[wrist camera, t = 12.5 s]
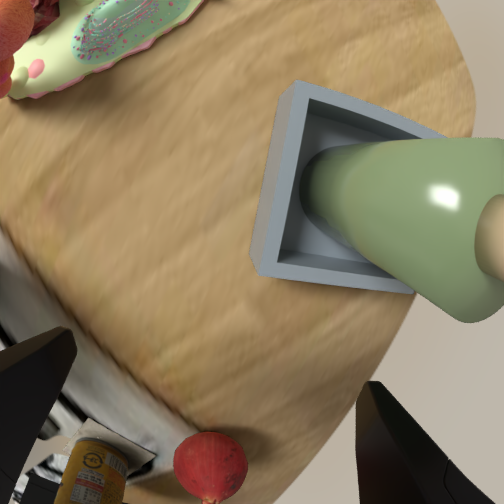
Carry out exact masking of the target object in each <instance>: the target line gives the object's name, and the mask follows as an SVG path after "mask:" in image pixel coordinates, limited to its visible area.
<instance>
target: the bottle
mask: <svg viewBox="0 0 504 504" xmlns="http://www.w3.org/2000/svg"><path fill="white" fill-rule="evenodd" d="M299 197H300V202H301V206H302V209H303V211H304V213H305V215H306V217H307V218H308V219H309V221H310V222H311V223H312V224H313V225H314V226H315V227H317V228H318V229H319V230H321V231H323V232H324V233H326V234H328V235H329V236H331V237H333V238H334V239H336V240H337V241H339V242H341V243H342V244H344V245H345V246H347V247H349V248H350V249H352V250H353V251H355V252H356V253H358V254H360V255H361V256H363V257H364V258H366V259H367V260H369V261H371V262H372V263H374V264H375V265H377V266H378V267H380V268H381V269H383V270H384V271H386V272H387V273H389V274H390V275H392V276H393V277H395V278H396V279H398V280H399V281H401V282H402V283H404V284H405V285H407V286H408V287H410V288H411V289H413V290H414V291H416V292H417V293H419V294H420V295H422V296H423V297H425V298H426V299H428V300H429V301H430V302H432V303H433V304H435V305H436V306H438V307H439V308H440V309H442V310H443V311H445V312H446V313H448V314H449V315H450V316H452V317H453V318H455V319H457V320H458V321H461V322H464V323H474V322H479V321H482V320H484V319H486V318H488V317H490V316H491V315H493V314H494V313H496V312H497V311H498V310H499V309H500V308H501V307H502V306H503V305H504V140H503V139H500V138H431V139H411V140H395V141H382V142H370V143H359V144H350V145H341V146H333V147H329V148H326V149H324V150H322V151H320V152H318V153H317V154H316V155H315V156H313V157H312V159H311V160H310V161H309V162H308V164H307V165H306V167H305V169H304V170H303V173H302V176H301V179H300V185H299Z"/></svg>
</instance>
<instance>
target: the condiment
mask: <svg viewBox="0 0 504 504" xmlns="http://www.w3.org/2000/svg"><path fill="white" fill-rule="evenodd" d="M97 437H98V438H97ZM100 437H102V438H100ZM63 451H64V452H66V453H68V454H69V455H70V457H69V461H68V463H67V466H66V468H65V471H64V474H63V476H62V480H61V483H60V486H59V489H58V492H57V496H56V499H55V502H54V504H122V501H123V496H124V490H125V484H126V480H127V476H128V475H129V474H131V473H132V472H134V471H135V470H137V469H139V468H140V467H141V466H142V465H144V464H145V463H147V462H148V461H150V460H151V459H152V458H154V457H155V455H154V454H152V453H150V452H148V451H147V450H145V449H143V448H141V447H139V446H137V445H135V444H134V443H132V442H131V441H129V440H127V439H125V438H123V437H121V436H120V435H118V434H117V433H114V432H112V431H110V430H108V429H107V428H105V427H104V426H102V425H101V424H98V423H97V422H95V421H93V420H92V419H90V418H88V419H87V420H86V422H85V423H84V424H83V425H82V427H81V428H80V429H79V430H78V432H77V433H76V434H75V435H74V436H73V437H72V439H71V440H70V441H69V442H68V444H67V445H66V446H65V447H64V449H63ZM130 459H131V460H130Z"/></svg>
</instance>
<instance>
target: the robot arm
mask: <svg viewBox="0 0 504 504" xmlns="http://www.w3.org/2000/svg"><path fill="white" fill-rule="evenodd" d="M76 355H77V346H76V343H75V339H74V336H73V332H72V331H71V329H69V328H66V327H63V326H59V327H56V328H54V329H52V330H49V331H47V332H44V333H42V334H40V335H37V336H35V337H32V338H30V339H28V340H25V341H23V342H21V343H18V344H16V345H13V346H11V347H9V348H6V349H4V350H2V351H0V504H8V503H9V501H10V498H11V496H12V493H13V491H14V488H15V486H16V483H17V480H18V478H19V476H20V473H21V471H22V469H23V467H24V464H25V462H26V460H27V457H28V455H29V453H30V451H31V449H32V447H33V445H34V443H35V441H36V439H37V436H38V434H39V432H40V430H41V428H42V426H43V424H44V422H45V420H46V418H47V417H48V415H49V413H50V411H51V409H52V407H53V405H54V403H55V401H56V399H57V398H58V396H59V394H60V392H61V390H62V387H63V385H64V383H65V380H66V378H67V376H68V373H69V371H70V369H71V366H72V364H73V362H74V360H75V357H76ZM355 448H356V449H355V450H356V462H357V471H358V485H359V497H360V498H359V499H360V504H495V503H494V502H493V501H492V500H491V499H490V498H488V497H487V496H486V495H485V494H484V493H483V492H482V491H481V490H480V489H478V488H477V487H476V486H475V485H474V484H473V483H472V482H471V481H470V480H469V479H468V478H467V477H466V476H465V475H464V474H463V473H462V472H461V471H460V470H459V469H458V468H457V467H456V465H455V464H454V463H453V462H452V461H451V460H450V459H449V460H448V457H447V456H446V454H445V453H444V452H443V451H442V450H441V449H440V448H439V447H438V445H437V444H436V443H435V442H434V441H433V440H432V439H431V437H430V436H429V435H428V434H427V433H426V432H425V431H424V430H423V429H422V427H421V426H420V425H419V424H418V423H417V422H416V421H415V420H414V418H413V417H412V416H411V415H410V414H409V413H408V412H407V411H406V410H405V409H404V408H403V406H402V405H401V404H400V403H399V402H398V401H397V400H396V398H395V397H394V396H393V395H392V394H391V393H390V392H389V391H388V390H387V389H386V387H385V386H384V385H383V384H382V383H381V382H379V381H367V382H365V384H364V386H363V388H362V390H361V392H360V394H359V396H358V398H357V401H356V445H355Z"/></svg>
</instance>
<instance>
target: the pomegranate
mask: <svg viewBox="0 0 504 504" xmlns="http://www.w3.org/2000/svg"><path fill="white" fill-rule="evenodd" d="M173 467H174V472H175V475H176V477H177V479H178V481H179V482H180V483H181V485H182V486H183V487H184V489H185V490H186V491H188V492H189V493H190V494H192V495H194V496H196V497H197V498H199V499H202V504H219V503H220V502H221V501H223V500H225V499H227V498H229V497H231V496H232V495H234V494H235V493H236V492H237V491H238V490H239V489H240V487H241V486H242V484H243V482H244V480H245V477H246V474H247V471H248V462H247V459H246V457H245V454H244V451H243V448H242V447H241V446H240V445H239V444H238V443H237V442H236V441H235V440H233V439H232V438H230V437H229V436H226V435H224V434H220V433H216V432H209V431H206V432H202V433H197V434H195V435H193V436H190V437H188V438H186V439H185V440H184V441H183V442H182V443H181V444H180V445H179V447H178V448H177V449H176V450H175V454H174V458H173Z"/></svg>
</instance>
